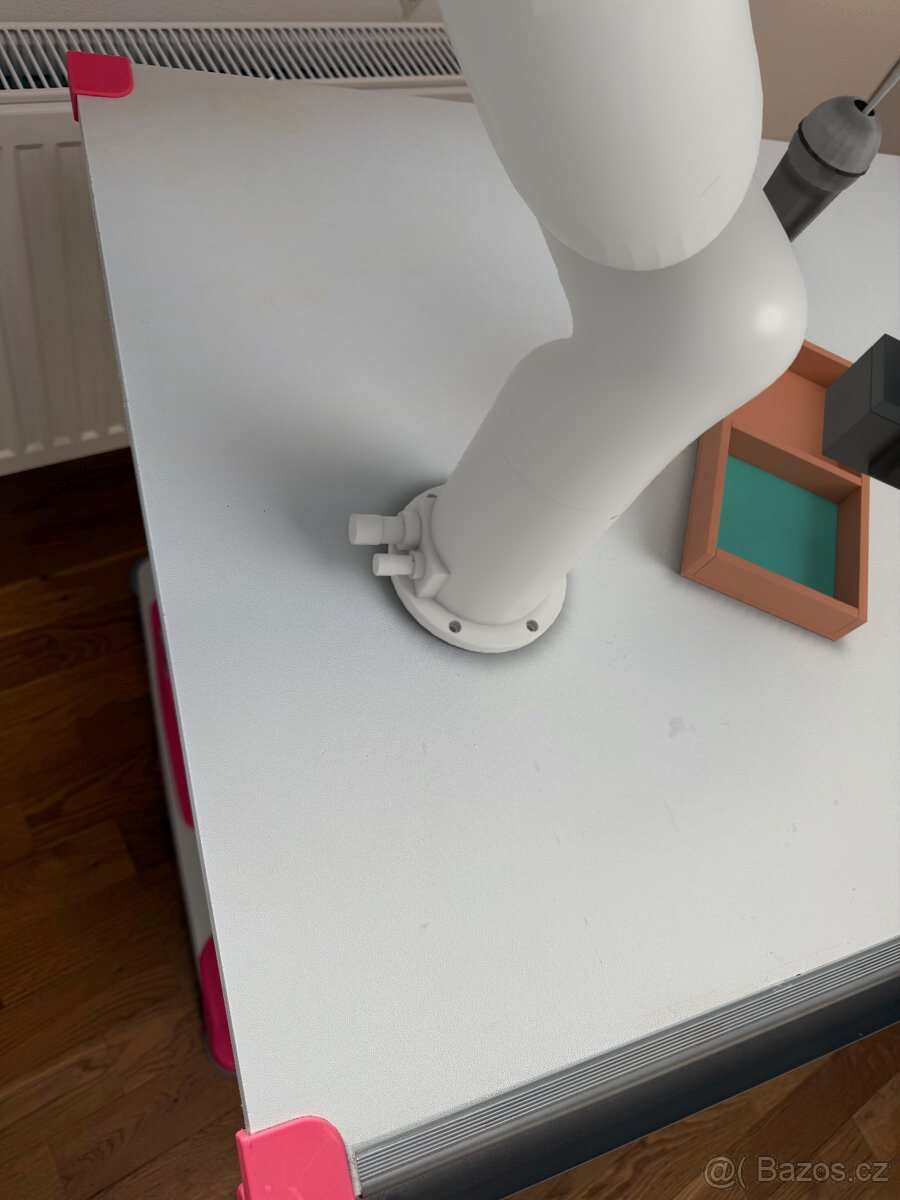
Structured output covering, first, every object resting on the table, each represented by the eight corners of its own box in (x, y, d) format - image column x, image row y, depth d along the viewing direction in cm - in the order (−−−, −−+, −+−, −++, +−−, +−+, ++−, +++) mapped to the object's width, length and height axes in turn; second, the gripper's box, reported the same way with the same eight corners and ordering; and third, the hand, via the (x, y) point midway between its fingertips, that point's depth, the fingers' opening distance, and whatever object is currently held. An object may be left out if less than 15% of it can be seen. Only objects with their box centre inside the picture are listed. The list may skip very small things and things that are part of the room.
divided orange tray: (679, 575, 72) (706, 551, 69) (714, 334, 86) (737, 306, 83) (835, 641, 74) (867, 621, 71) (844, 396, 88) (872, 371, 85)
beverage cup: (785, 231, 96) (934, 48, 80) (790, 283, 93) (948, 102, 76) (721, 207, 95) (860, 13, 78) (724, 258, 91) (870, 67, 74)
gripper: (1053, 115, 54) (843, 331, 69) (1082, 323, 45) (833, 519, 60) (1162, 173, 55) (931, 373, 70) (1211, 387, 46) (935, 563, 62)
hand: (888, 439), depth 65 cm, fingers closed on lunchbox, 6 cm apart
